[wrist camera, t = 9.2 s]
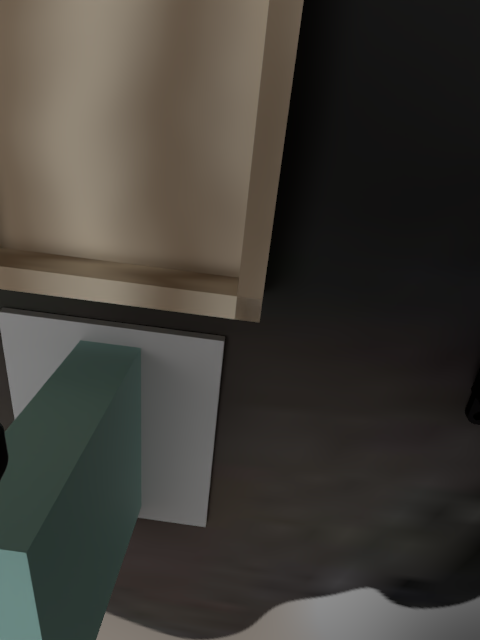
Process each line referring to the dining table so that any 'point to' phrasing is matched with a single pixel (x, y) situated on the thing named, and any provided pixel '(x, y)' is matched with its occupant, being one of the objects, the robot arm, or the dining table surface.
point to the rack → (143, 149)
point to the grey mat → (156, 398)
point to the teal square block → (70, 495)
